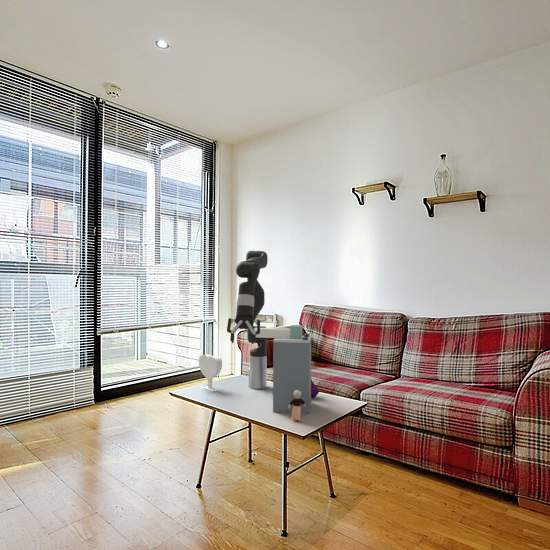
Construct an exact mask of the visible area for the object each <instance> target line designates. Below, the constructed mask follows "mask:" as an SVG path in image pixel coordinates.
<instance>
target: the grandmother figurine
mask: <svg viewBox="0 0 550 550" xmlns="http://www.w3.org/2000/svg"><path fill="white" fill-rule="evenodd" d="M293 394H294V397H295V398H294V399H293V400H292V401H291V402H290V404H289V406H288V408H289V409H290V407H291V405H293V410H292V413H291V420H290V421H296V422H302V421H301V420H302V419H301V418H302V413H301V404H303V405H304V407H306V405H305V402H304V400H302V399H300V396H301V392H300V391H298V390H295V391H294V393H293Z"/></svg>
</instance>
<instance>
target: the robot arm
mask: <svg viewBox="0 0 550 550" xmlns="http://www.w3.org/2000/svg"><path fill="white" fill-rule="evenodd" d="M267 266H268V254H267V252H266V251H264V250H248V251H247V252H246V255H245V260H244V261H240V262H238V263H237V265H236V268H235V272H236V276H237V277H239V278H241V279H247V280H246V281H243V282H240V283H239V285H238V294H237V301H236V312H235V318H232V317H230V318H228V319H227V327H226V332H227V333H229V334H230V338H229V340H230V342H231V343H232V344H234V343H235V333H236V332H237V331H238V330H246V331H247V333H246V334H247V336H246V337H247V342H248V343H249V344H252V345H254V344H260V345H259V346H258V347H256V348H253V349H251V350H250V351H249V368H248V387H249V388H251V389H254V390H261V389H266V388H267V383H268V382H267V380H268V379H267V377H268V376H267V373H268V372H267V366H268V365H267V361H268V359H267V358H268V357H267V355H268V354H267V351H268V350H267V349H268V348H267V346H268V345H267V344H268V338H260V337H256V335H257V334H260V328H267V327H266V326H265V325H263V326H261V320H260V319H257V317H258V315H259V314H260V312H261V311H262V309H263V308H264V305H265V303H266V302H265V300H266V299H265V290H264V289H263V286H262V285H261V283H260V282H259V280H258V279H259V276H260V273H261V269H265V268H266V267H267ZM233 323H234V324H235V326H234V327H233V328H232V329H231V327H232V324H233ZM254 324H255V326H254ZM254 328H257V331H256V332H255V331H254Z"/></svg>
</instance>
